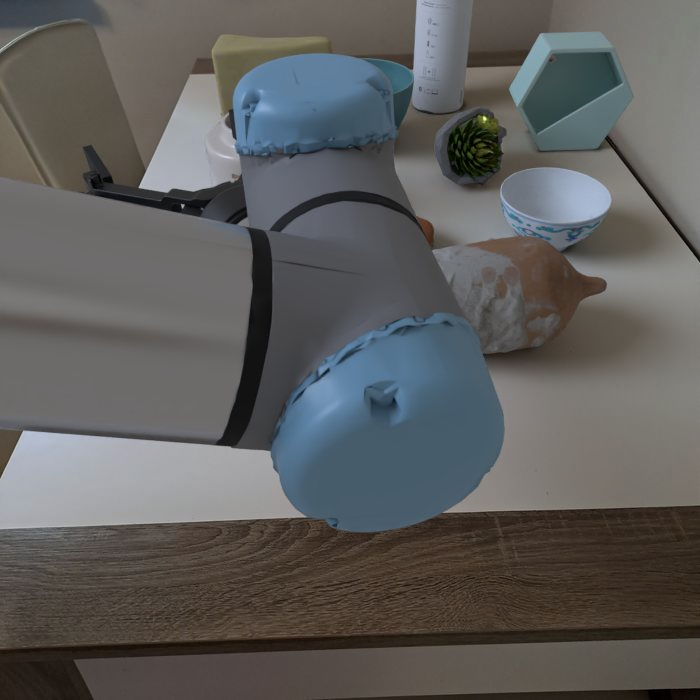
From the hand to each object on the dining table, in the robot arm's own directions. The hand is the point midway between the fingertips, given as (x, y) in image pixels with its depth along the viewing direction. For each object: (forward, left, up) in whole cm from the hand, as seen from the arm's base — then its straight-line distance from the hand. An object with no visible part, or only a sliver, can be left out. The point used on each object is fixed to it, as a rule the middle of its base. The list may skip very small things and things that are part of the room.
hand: (165, 140), depth 59 cm
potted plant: (+48, +28, -28) cm, 62 cm away
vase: (+13, +27, -28) cm, 41 cm away
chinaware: (+50, +8, -28) cm, 58 cm away
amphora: (+30, -7, -28) cm, 42 cm away
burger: (+29, +13, -28) cm, 43 cm away
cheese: (+24, +63, -28) cm, 73 cm away
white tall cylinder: (+55, +58, -28) cm, 85 cm away
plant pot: (+35, +47, -28) cm, 65 cm away
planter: (+69, +35, -28) cm, 83 cm away
